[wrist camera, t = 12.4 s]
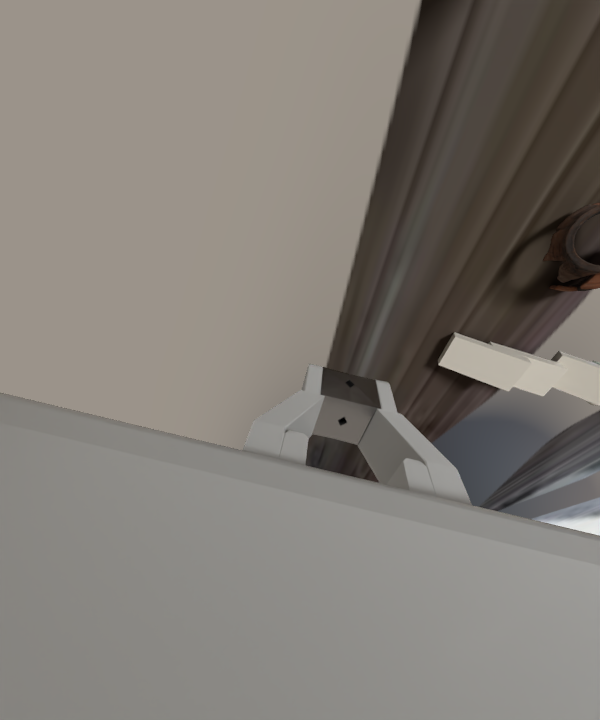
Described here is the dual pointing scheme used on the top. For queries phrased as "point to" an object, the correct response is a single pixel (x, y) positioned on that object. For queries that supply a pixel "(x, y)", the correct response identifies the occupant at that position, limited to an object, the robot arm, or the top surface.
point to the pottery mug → (573, 252)
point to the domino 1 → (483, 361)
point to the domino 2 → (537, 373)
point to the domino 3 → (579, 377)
